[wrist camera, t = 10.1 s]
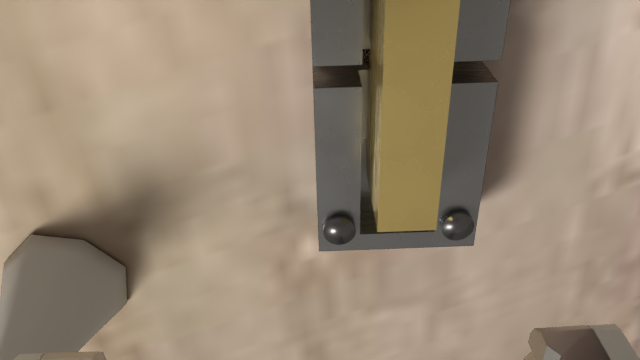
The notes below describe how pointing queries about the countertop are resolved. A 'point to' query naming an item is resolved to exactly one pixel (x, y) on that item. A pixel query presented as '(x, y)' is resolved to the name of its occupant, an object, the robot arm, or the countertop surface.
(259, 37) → the countertop surface
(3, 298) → the flask
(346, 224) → the link
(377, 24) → the tall mustard post
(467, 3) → the grey forked link
